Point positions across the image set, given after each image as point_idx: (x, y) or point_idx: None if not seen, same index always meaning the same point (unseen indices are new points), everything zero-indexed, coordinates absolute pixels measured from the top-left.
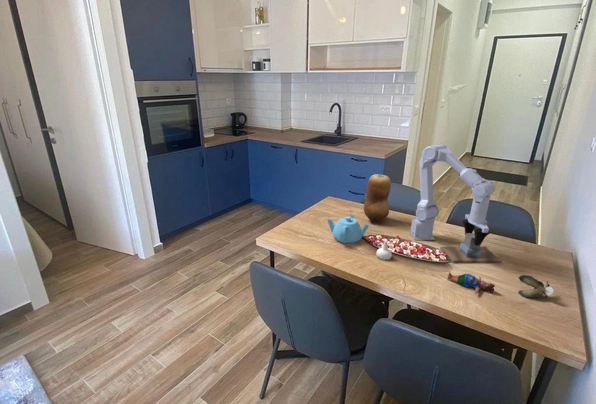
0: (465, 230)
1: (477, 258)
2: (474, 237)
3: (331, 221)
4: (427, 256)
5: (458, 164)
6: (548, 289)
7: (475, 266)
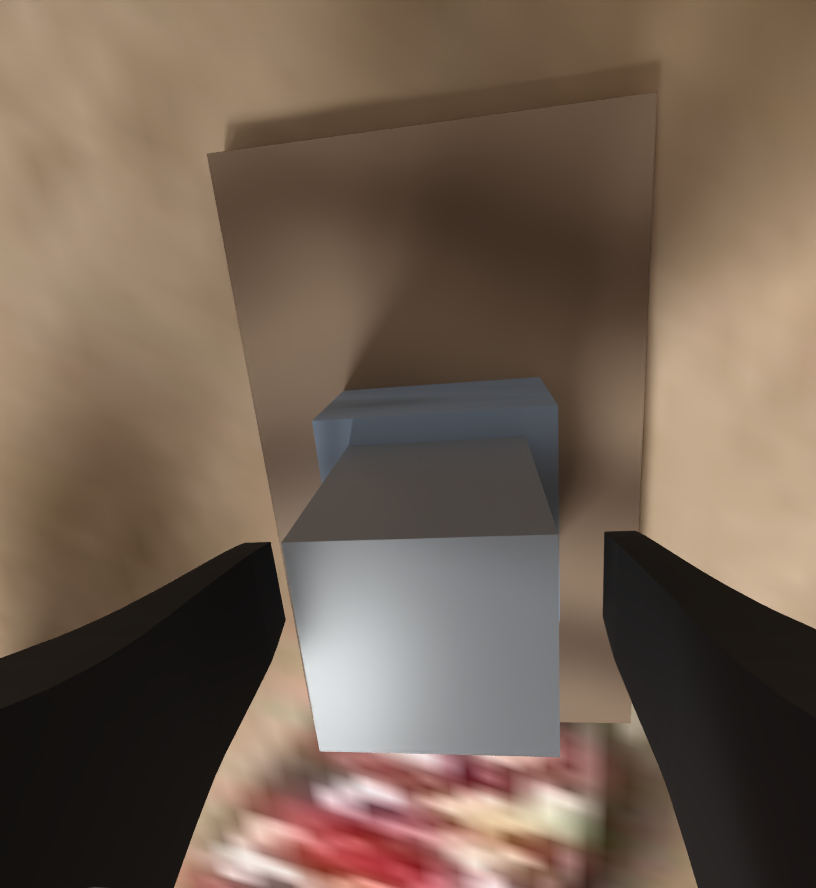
0: (213, 744)
1: (582, 437)
2: (535, 688)
3: None
4: (495, 849)
5: None
6: None
7: (716, 506)
